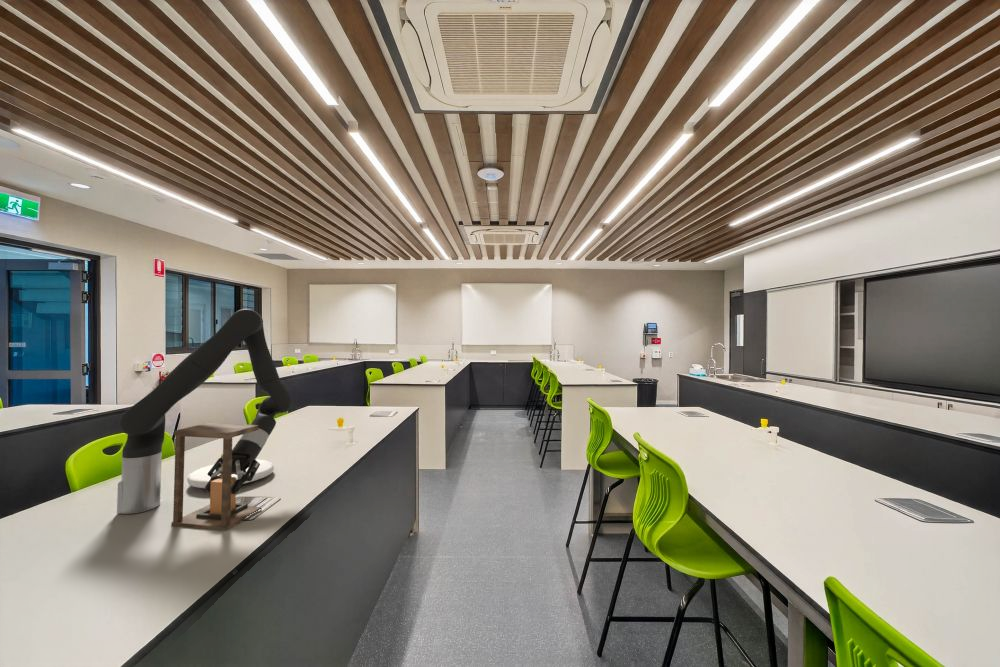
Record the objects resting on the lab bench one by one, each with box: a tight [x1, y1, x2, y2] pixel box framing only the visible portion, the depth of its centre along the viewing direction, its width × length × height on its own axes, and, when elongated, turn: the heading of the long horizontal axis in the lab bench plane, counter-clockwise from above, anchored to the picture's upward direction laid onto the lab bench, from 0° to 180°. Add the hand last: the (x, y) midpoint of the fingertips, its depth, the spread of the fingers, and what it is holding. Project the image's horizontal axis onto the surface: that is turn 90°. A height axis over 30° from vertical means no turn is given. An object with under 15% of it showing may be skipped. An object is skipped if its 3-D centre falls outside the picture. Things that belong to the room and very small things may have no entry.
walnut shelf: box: [171, 422, 262, 532], centre depth 115 cm, size 13×18×28 cm
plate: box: [186, 458, 275, 489], centre depth 145 cm, size 28×6×27 cm
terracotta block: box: [209, 477, 237, 515], centre depth 116 cm, size 4×4×10 cm
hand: (219, 492), depth 115 cm, fingers open, 8 cm apart
